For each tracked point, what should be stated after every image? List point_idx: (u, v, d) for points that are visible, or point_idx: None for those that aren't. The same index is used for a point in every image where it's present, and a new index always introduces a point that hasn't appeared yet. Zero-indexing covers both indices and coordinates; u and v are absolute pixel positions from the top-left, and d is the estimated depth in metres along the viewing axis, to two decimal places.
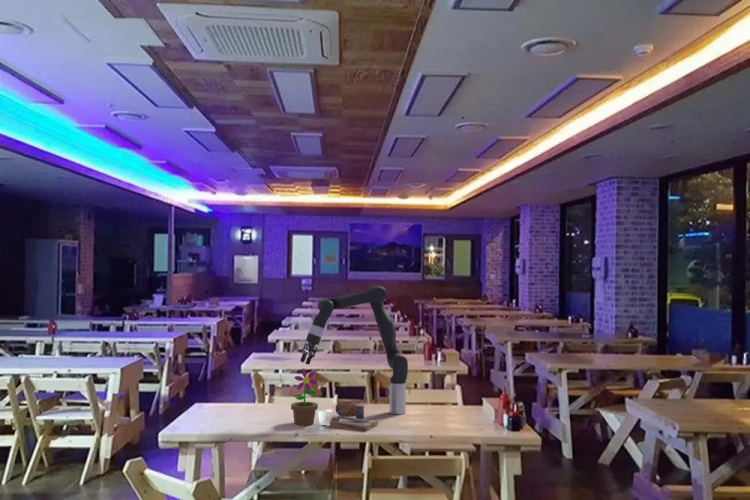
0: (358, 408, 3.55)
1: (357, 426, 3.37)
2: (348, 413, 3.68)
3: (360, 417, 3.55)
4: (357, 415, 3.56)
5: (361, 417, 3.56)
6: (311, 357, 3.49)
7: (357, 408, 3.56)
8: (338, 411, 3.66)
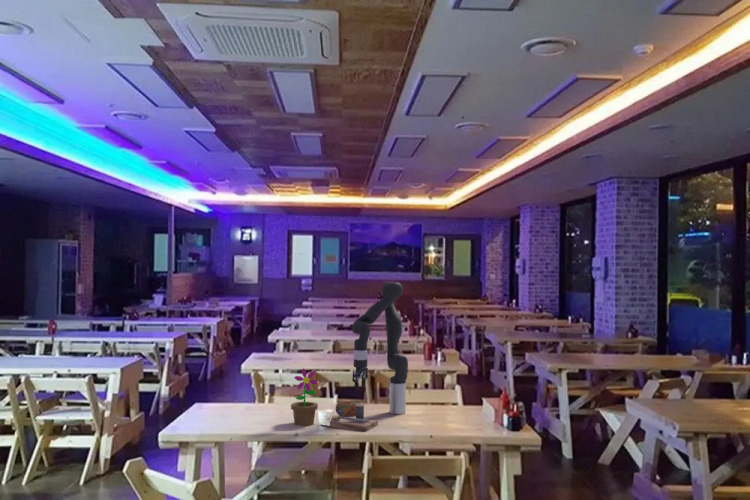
0: (358, 408, 3.55)
1: (357, 426, 3.37)
2: (348, 413, 3.68)
3: (360, 417, 3.55)
4: (357, 415, 3.56)
5: (361, 417, 3.56)
6: (356, 382, 3.52)
7: (357, 408, 3.56)
8: (338, 411, 3.66)
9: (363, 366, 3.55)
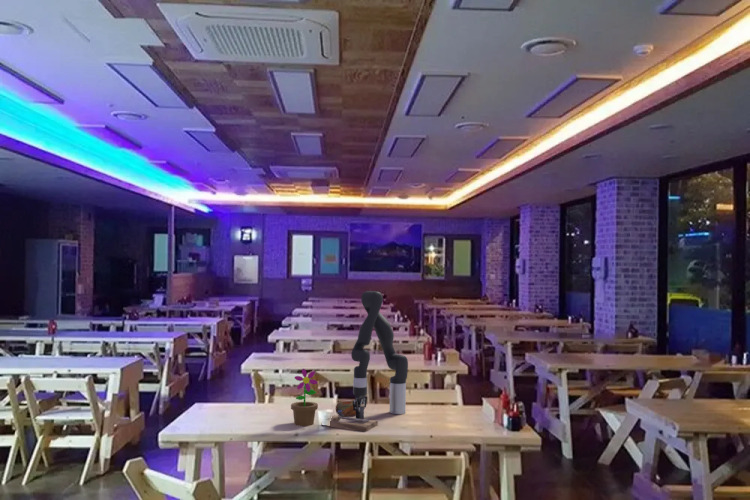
0: None
1: (357, 426, 3.37)
2: (348, 413, 3.68)
3: (360, 417, 3.55)
4: None
5: (361, 417, 3.56)
6: (357, 411, 3.54)
7: None
8: (338, 411, 3.66)
9: (363, 394, 3.54)
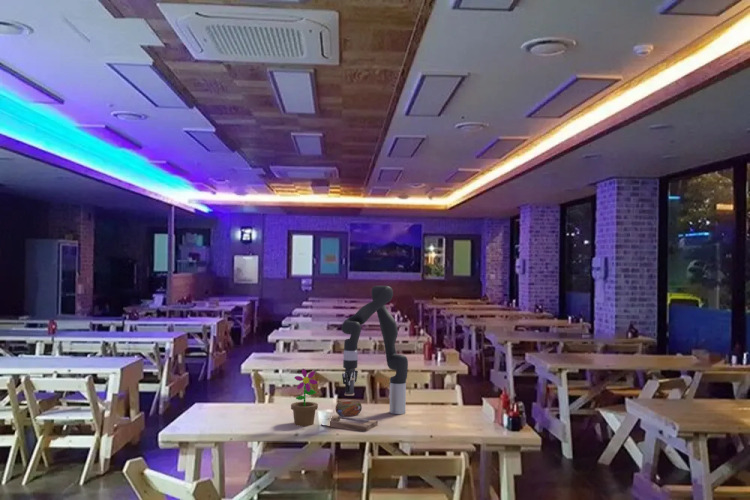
0: None
1: (357, 426, 3.37)
2: (348, 413, 3.68)
3: (350, 391, 3.45)
4: None
5: (351, 391, 3.45)
6: (346, 384, 3.43)
7: None
8: (338, 411, 3.66)
9: (353, 367, 3.44)
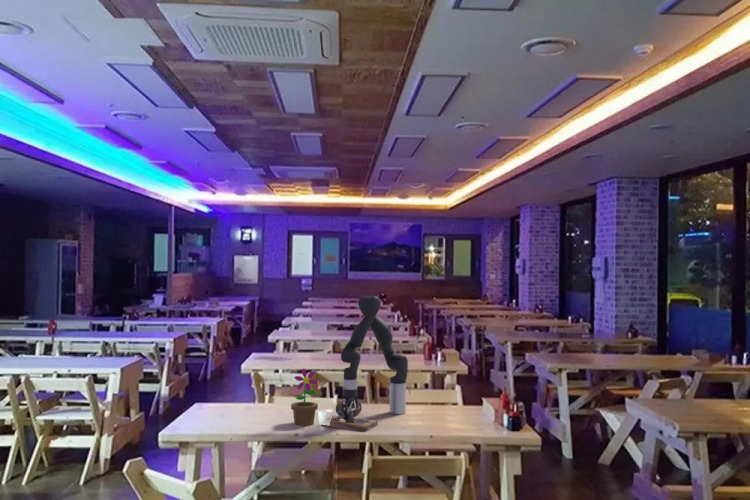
0: (348, 413, 3.45)
1: (357, 426, 3.37)
2: None
3: (350, 422, 3.44)
4: (347, 420, 3.45)
5: (351, 422, 3.45)
6: (345, 412, 3.41)
7: None
8: (338, 411, 3.66)
9: (353, 396, 3.44)
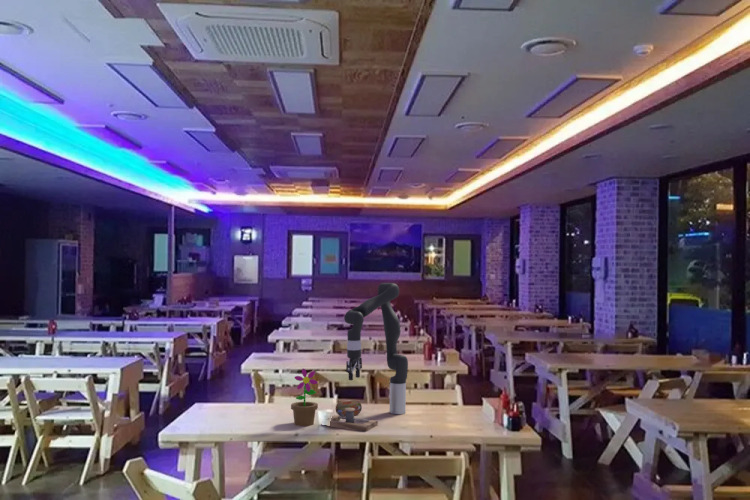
0: (348, 413, 3.45)
1: (357, 426, 3.37)
2: None
3: (350, 422, 3.44)
4: (347, 420, 3.45)
5: (351, 422, 3.45)
6: (350, 373, 3.46)
7: (347, 413, 3.45)
8: (338, 411, 3.66)
9: (357, 356, 3.48)
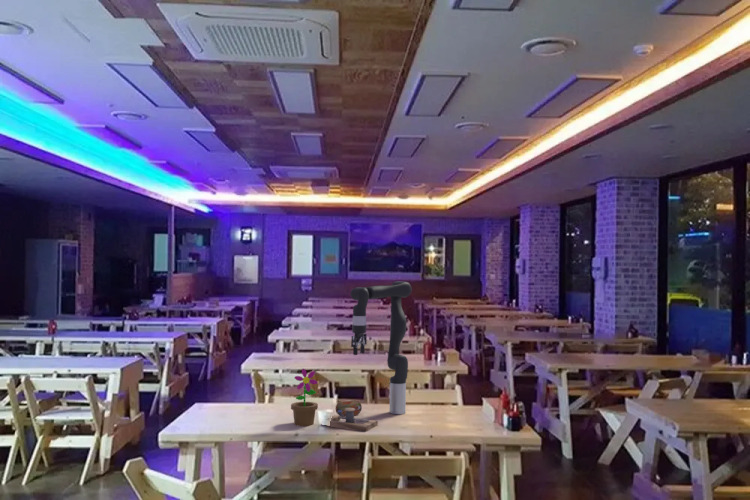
0: (348, 413, 3.45)
1: (357, 426, 3.37)
2: None
3: (350, 422, 3.44)
4: (347, 420, 3.45)
5: (351, 422, 3.45)
6: (354, 347, 3.53)
7: (347, 413, 3.45)
8: (338, 411, 3.66)
9: (362, 332, 3.55)
